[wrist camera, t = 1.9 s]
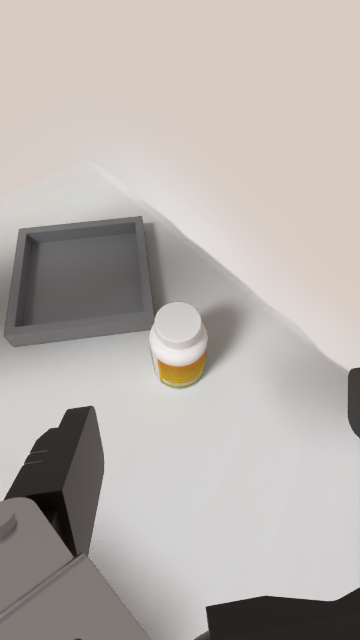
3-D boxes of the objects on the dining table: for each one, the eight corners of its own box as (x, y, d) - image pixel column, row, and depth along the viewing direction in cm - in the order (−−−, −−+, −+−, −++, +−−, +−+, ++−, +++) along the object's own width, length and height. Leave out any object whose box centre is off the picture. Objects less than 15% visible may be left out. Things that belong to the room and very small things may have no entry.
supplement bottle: (214, 373, 36) (223, 328, 28) (171, 400, 35) (168, 362, 26) (185, 336, 38) (186, 284, 30) (144, 360, 37) (133, 313, 28)
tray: (13, 347, 38) (3, 336, 36) (26, 242, 46) (19, 228, 44) (155, 329, 39) (154, 317, 37) (143, 230, 47) (141, 216, 45)
